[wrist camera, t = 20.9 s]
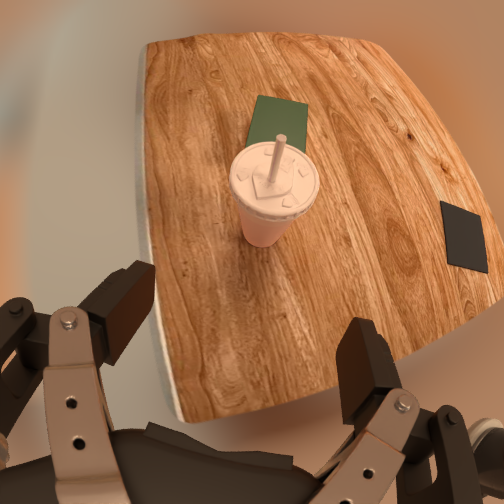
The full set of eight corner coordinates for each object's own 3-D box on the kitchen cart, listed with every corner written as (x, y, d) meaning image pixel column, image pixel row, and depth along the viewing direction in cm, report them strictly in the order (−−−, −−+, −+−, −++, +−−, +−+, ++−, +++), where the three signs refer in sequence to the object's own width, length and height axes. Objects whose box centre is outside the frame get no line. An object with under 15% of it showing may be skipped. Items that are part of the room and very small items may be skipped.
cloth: (487, 273, 29) (488, 273, 28) (447, 263, 29) (448, 263, 28) (479, 216, 32) (480, 216, 31) (439, 201, 32) (440, 200, 31)
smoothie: (216, 237, 27) (205, 140, 14) (252, 191, 29) (268, 85, 16) (271, 273, 27) (310, 200, 13) (304, 223, 29) (355, 130, 15)
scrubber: (296, 181, 30) (304, 160, 26) (242, 171, 30) (244, 148, 26) (301, 126, 33) (308, 104, 29) (255, 117, 33) (258, 94, 29)
